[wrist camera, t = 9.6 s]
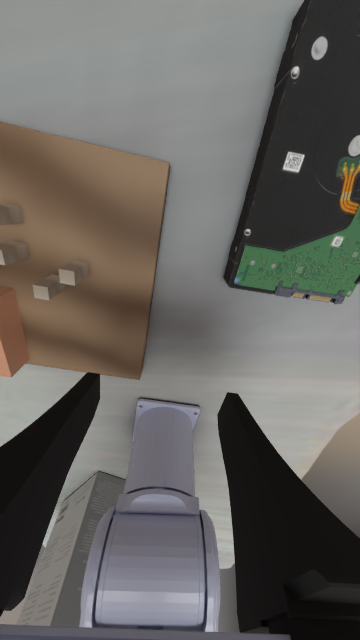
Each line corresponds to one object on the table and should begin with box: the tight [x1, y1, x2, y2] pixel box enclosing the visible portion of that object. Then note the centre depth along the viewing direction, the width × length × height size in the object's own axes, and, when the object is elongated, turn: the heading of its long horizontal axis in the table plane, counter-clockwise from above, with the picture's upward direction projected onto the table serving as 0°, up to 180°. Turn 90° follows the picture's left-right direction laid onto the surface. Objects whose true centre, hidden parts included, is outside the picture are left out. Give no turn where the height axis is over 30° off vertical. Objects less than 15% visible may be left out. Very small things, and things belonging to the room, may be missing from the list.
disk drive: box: [224, 0, 360, 304], centre depth 14 cm, size 10×3×15 cm
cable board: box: [0, 122, 170, 380], centre depth 16 cm, size 19×20×4 cm
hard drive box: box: [16, 471, 126, 627], centre depth 30 cm, size 16×8×20 cm, turn 143°
